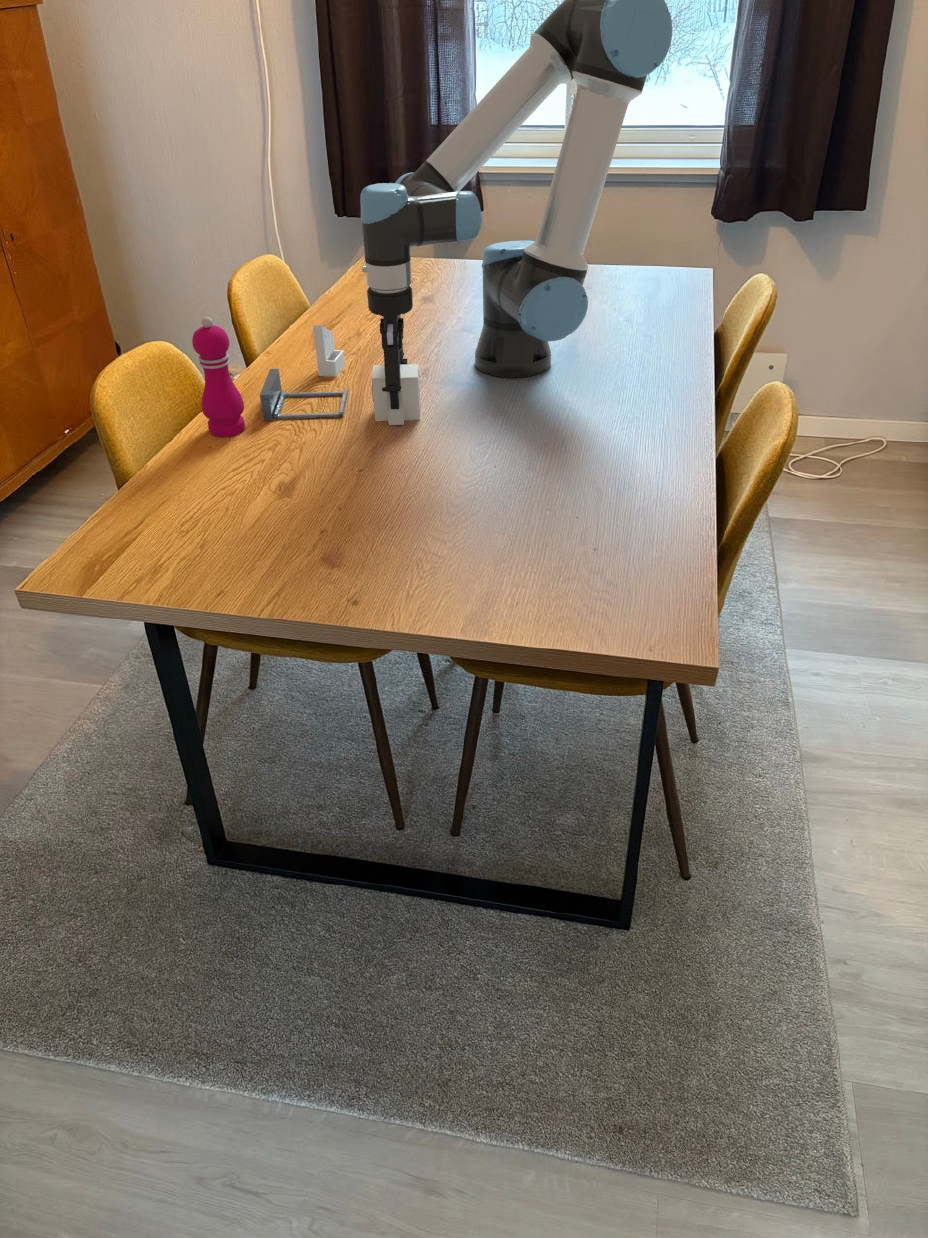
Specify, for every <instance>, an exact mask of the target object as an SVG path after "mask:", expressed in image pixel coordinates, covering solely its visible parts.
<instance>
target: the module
mask: <svg viewBox="0 0 928 1238" xmlns="http://www.w3.org/2000/svg"><path fill="white" fill-rule="evenodd" d="M419 368H420V367H419V363H417V364H416V363H411V364H410V363H409V364H408V363H407V364H405V365H400V377H401V386H402V396H403V412H404V421H420V420H421V407H422V404H421V390H420V389H421V388H420V386H421V385H420V369H419ZM382 388H385V367H384V364H378V365H377V364H376V365H375V364H373V368H372V373H371V394H372V402H373V413H374V421H375V422H387V421H388V409H387V395H386V391H382Z"/></svg>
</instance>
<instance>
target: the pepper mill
mask: <svg viewBox="0 0 928 1238" xmlns="http://www.w3.org/2000/svg"><path fill="white" fill-rule="evenodd" d="M201 325H202V326H201V327H199V328H198V329H196V330H195V331H194V332H193V333H192V334H193V336H192V338H191V340H192V341H191V343H192V347H193V349H194V352H196V353H197V354H198V355H199V356H198V359H197V360H198V361H199V366H200V367H201V368H202V369H203V373H204V374H203V375H204V386H203V392H202V395H201V412H202V414H203V416H204V417H206V419H208V421H207V426H208V432H209V434H210V435H212V436H214V437H218V438H229V437H235V436H237V435H239V434H241V433H242V432H244V431H245V429H246V424H245V419H244V417H243V415H242V414H243V412H244V410H245V402H244V400H243V396H242V395H241V393H240V391H239V390H238V388H237V386H236V385H235V383H234V382H233V379H232V377H231V374H230V371H229V364H230V362H231V360H230V358H229V357H230V354H229V353H228V352H227V351H228V350H229V347H230V337H229V335H228V333H227V331H226V330H224V328H223V327H220V326H218V325H214V322H213V319H212V317H211V318H210V317H209V316H205V317H203V318H202V320H201Z"/></svg>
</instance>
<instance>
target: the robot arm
mask: <svg viewBox="0 0 928 1238" xmlns="http://www.w3.org/2000/svg"><path fill="white" fill-rule="evenodd" d="M672 38H673V21H672V15H671V12H670V10H669V7H668V5H667V3H666V1H665V0H562V2H561V3H560V4H559V5H558V6H557V7H556V8H555V9H554V10H553V11H552V12H551V13H550V14H549V15H548V17H546V19H545V20H544V21H543V22H542V23H541V24H540V25H539V26H538V28H537V29H536V30H535V31H534V32H533V33H532V34H531V35H530V38H529V39H530V40H529V41H530V42H529V43H530V44H529V47H528V48H527V49H526V50H525V51H524V52H523V54H522V55H521V56H520V57H518V58H517V60H516V61H515V62H514V64H512V65H511V67H509V69H508V70H507V71H506V72H505V73H504V74H503V75H502V77H501V78H500V79H499V80H498V81H497V82H496V83H495V84H494V86H492V87H491V89H490V90H489V91H488V92H487V93H486V94H485V95H484V96H483V98H482V99H480V101H479V102H477V104H476V105H475V106H474V108H472V109H471V111H470V112H469V113H468V114H467V115H466V116H465V117H464V119H462V121H460V123H458V125H457V126H456V127H455V128H454V129H453V130H452V132H451V133H450V134H449V135H448V136H447V137H446V138H445V139H444V140H443V141H442V143H441V144H439V146H438V147H437V148H436V149H435V150H434V151H433V152H432V154H430V156H429V157H428V158H427V159H426V160H425V161H424V162H423V163H422V164H421V165H420V166H419V168H418V169H417V170H416V171H414V172H408V173H405V174H403V175H401V176H399V178H398V179H397V180H396V181H395V183H393V182H389V183H386V182H385V183H384V182H382V183H380V182H379V183H375V184H374V183H373V184H370V185H369V184H368V185H367V186H366V187H364V188H363V189H362V190H361V193H360V203H359V204H360V218H359V219H360V223H361V230H362V231H361V232H362V241H363V251H364V252H363V253H364V265H363V266H362V267H361V272H363V273H365V274H366V275H365V280H366V285H367V286H368V288H367V290H366V294H367V295H366V296H367V304H368V305H367V308H368V310H369V311H370V313H371V314H373V315H377V316H381V317H383V318H380V320H379V321H380V323H379V333H380V334H381V349H382V350H383V362H384V363H383V365H384V367H385V388H382V391H386V395H387V409H388V426H404V425H405V420H404V412H403V396H402V386H401V377H400V365H405V364H408V358H404V356H405V353H404V345H403V344H404V343H403V340H404V329H405V328H404V324H405V323H404V317H401V315H404V314H408V313H410V312H411V311H412V309H413V307H414V305H413V304H414V302H413V301H414V300H413V288H412V286H411V284H412V282H413V278H412V275H413V274H412V259H411V248H412V247H421V246H430V245H441V244H449V243H460V242H463V241H469V240H473V239H475V238H476V237H478V235H479V233H480V231H481V226H482V211H481V210H482V209H481V205H480V202H479V199H478V197H477V195H476V193H474V191H471V190H462V189H463V188H464V187H465V186H466V185H467V184H468V183H469V181H471V180H472V179H473V177H474V176H475V175H476V174H478V172H479V171H480V169H482V168H483V167H484V165H486V163H487V162H488V161H490V159H491V158H492V157H493V156H494V155H495V154H496V153H497V152H498V151H499V150H500V148H501V147H502V146H503V145H504V144H505V143H507V142H508V140H509V139H510V138H511V137H512V135H514V134H515V133H516V131H517V130H519V128H520V127H521V126H522V125H523V124H524V123H525V122H526V121H527V120H528V118H529V117H530V116H531V115H532V114H534V112H535V111H536V110H537V109H538V108H539V107H540V105H542V104H543V102H544V101H546V99H547V98H548V97H549V96H550V95H551V94H552V93H554V91H555V89H557V87H558V86H559V85H561V84H565V85H566V84H567V85H568V84H570V83H571V82H572V81H573V79H574V82H575V83H576V87H577V89H576V92H575V96H574V99H573V100H574V101H573V104H572V107H571V111H570V115H569V117H568V118H569V119H568V122H567V126H566V130H565V132H564V137H563V140H562V144H561V147H560V151H559V155H558V158H557V162H556V166H555V170H554V173H553V176H552V181H551V184H550V188H549V190H548V191H549V192H548V195H547V199H546V203H545V206H544V210H543V213H542V217H541V221H540V224H539V228H538V231H537V235H536V238H535V240H510V241H509V240H508V241H500V242H496V243H492V244H490V245H488V246H486V247H485V249H484V250H483V252H482V253H483V254H482V263H481V268H482V307H483V308H482V310H483V312H482V315H483V317H482V321H483V322H482V329H481V332H480V335H479V338H478V341H477V346H476V348H475V351H474V364H475V367H476V369H477V370H479V371H481V372H482V373H485V374H486V375H491V376H494V377H499V378H525V377H531V376H535V375H539V374H541V373H543V372H545V371H546V370H548V369H549V368H550V367H551V364H552V362H551V361H552V349H551V346H550V344H549V342H557V341H560V340H564V339H565V338H567V337H568V336H569V335H572V334H573V333H575V331H576V330H577V329H578V328H579V327H580V326H581V325H582V323H583V322H584V319H585V318H586V316H587V312H588V308H589V307H588V306H589V299H588V298H589V297H588V295H587V291H586V289H585V286H584V283H585V279H586V276H587V273H588V269H589V265H588V263H587V261H586V259H585V257H584V253H585V249H586V245H587V243H588V239H589V237H590V232H591V229H592V226H593V223H594V220H595V216H596V212H597V211H598V210H597V209H598V206H599V204H600V201H601V200H600V199H601V196H602V193H603V190H604V186H605V183H606V180H607V176H608V173H609V169H610V166H611V163H612V159H613V157H614V153H615V150H616V146H617V143H618V140H619V136H620V134H621V130H622V127H623V125H624V124H623V122H624V119H625V117H626V113H627V110H628V106H629V104H630V103H631V102H632V101H633V100H635V99H636V98H637V97H639V96H640V95H642V93H643V90H644V86H645V84H646V81H647V77H648V75H650V74H651V73H653V72H654V71H655V70H656V68H659V67H660V66H661V65H662V63H663V62H664V60H665V59H666V58H667V55H668V52H669V50H670V49H671V43H672Z"/></svg>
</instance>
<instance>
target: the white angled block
mask: <svg viewBox="0 0 928 1238" xmlns="http://www.w3.org/2000/svg"><path fill="white" fill-rule="evenodd" d="M312 328H313V336H314V338H313V339H314V345H315V346H314V347H315V354H316V355H315V356H316V365H317V372H318V376H319V377H334V378H337V377H338V376H339V375H340V373H341V372H342V371H343V370H344V368H345V367H346V360H345V350H340V349H339V350H338V349H336V347H335V339H334V338H335V337H334V336H335V335H334V332H333V331H331V330H330V329H328V328H326V327H325V326H323V325H312Z"/></svg>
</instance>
